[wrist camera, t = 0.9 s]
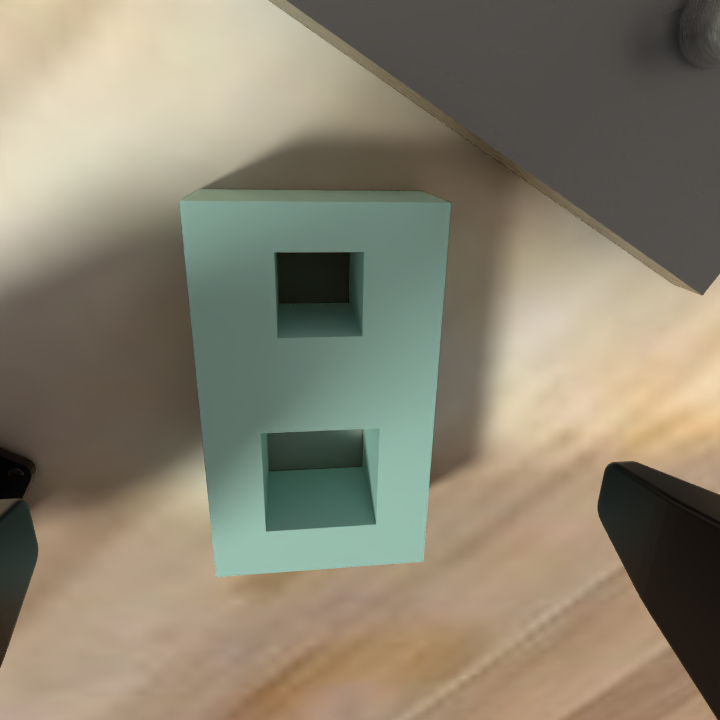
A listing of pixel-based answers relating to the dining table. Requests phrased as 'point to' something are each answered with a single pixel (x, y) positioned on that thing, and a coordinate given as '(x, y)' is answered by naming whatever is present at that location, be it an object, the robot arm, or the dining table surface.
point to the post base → (568, 104)
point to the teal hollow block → (316, 372)
